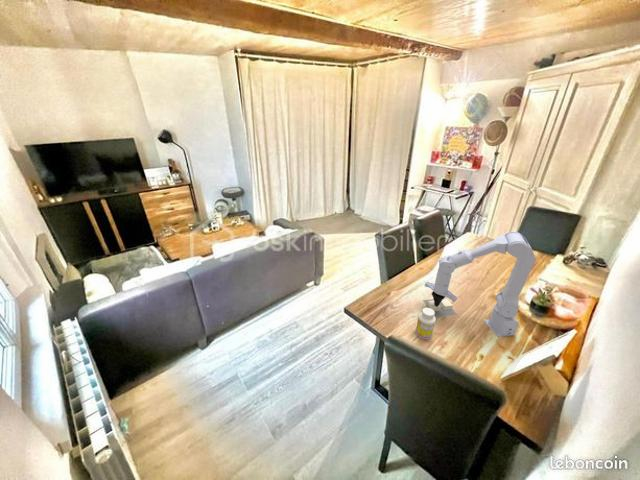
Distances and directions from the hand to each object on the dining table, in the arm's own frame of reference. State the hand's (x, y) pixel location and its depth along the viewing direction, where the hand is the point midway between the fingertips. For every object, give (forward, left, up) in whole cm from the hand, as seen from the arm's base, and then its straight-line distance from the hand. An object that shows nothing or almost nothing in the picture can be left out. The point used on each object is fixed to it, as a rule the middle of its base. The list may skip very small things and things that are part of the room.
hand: (436, 305), depth 117 cm
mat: (+2, -3, -4) cm, 5 cm away
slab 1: (-1, 0, -2) cm, 2 cm away
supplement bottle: (-12, +12, -4) cm, 18 cm away
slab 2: (-1, -6, -2) cm, 6 cm away
